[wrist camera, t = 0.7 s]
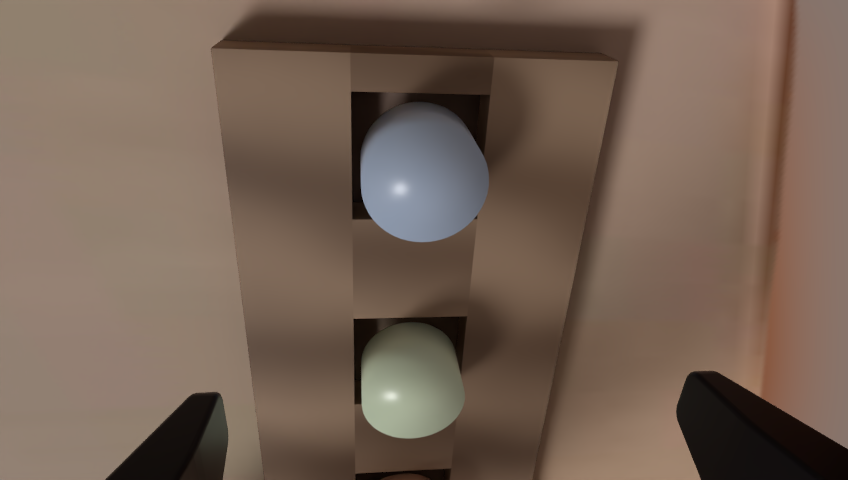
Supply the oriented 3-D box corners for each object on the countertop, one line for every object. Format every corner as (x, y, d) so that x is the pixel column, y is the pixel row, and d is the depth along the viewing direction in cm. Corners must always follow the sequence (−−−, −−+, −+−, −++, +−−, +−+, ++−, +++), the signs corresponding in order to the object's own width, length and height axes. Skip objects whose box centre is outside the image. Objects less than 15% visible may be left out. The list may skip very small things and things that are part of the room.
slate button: (469, 210, 21) (482, 241, 19) (360, 210, 20) (360, 242, 18) (480, 102, 19) (495, 123, 17) (360, 100, 18) (360, 121, 16)
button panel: (513, 513, 32) (520, 538, 30) (277, 528, 30) (273, 555, 29) (601, 53, 20) (618, 61, 19) (221, 40, 18) (211, 48, 17)
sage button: (451, 394, 25) (460, 436, 23) (361, 397, 24) (361, 440, 22) (459, 321, 23) (469, 359, 21) (360, 323, 23) (361, 362, 20)
